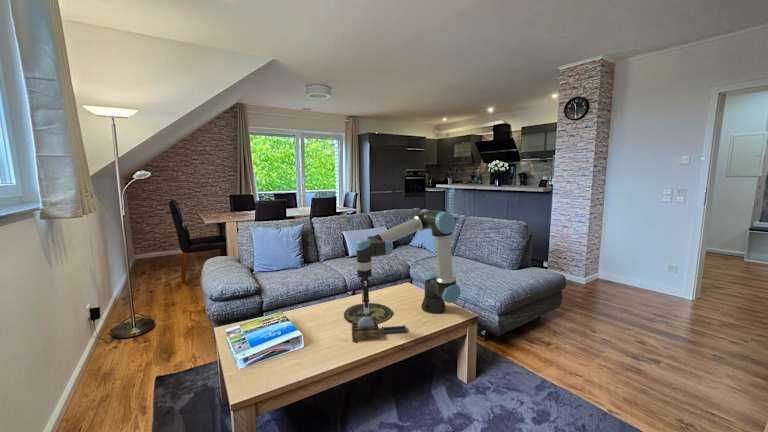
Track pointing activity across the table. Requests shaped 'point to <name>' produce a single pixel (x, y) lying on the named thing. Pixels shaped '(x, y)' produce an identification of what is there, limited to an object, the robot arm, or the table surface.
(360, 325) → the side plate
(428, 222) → the robot arm
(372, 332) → the dish rack
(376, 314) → the decorative plate
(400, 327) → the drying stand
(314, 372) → the table surface
